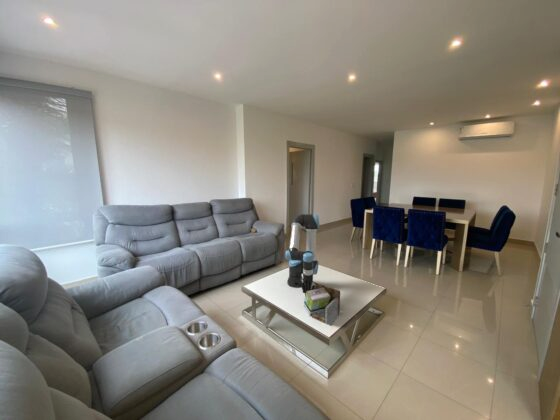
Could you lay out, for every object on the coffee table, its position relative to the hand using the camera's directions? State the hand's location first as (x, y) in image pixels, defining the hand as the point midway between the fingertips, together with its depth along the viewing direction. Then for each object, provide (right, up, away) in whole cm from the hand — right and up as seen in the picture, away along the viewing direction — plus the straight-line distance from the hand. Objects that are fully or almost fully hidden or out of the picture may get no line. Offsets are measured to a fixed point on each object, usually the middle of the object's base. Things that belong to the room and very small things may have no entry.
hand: (307, 302), depth 176 cm
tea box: (+5, -3, -4) cm, 7 cm away
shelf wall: (+7, -4, -5) cm, 10 cm away
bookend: (+17, -6, -14) cm, 22 cm away
